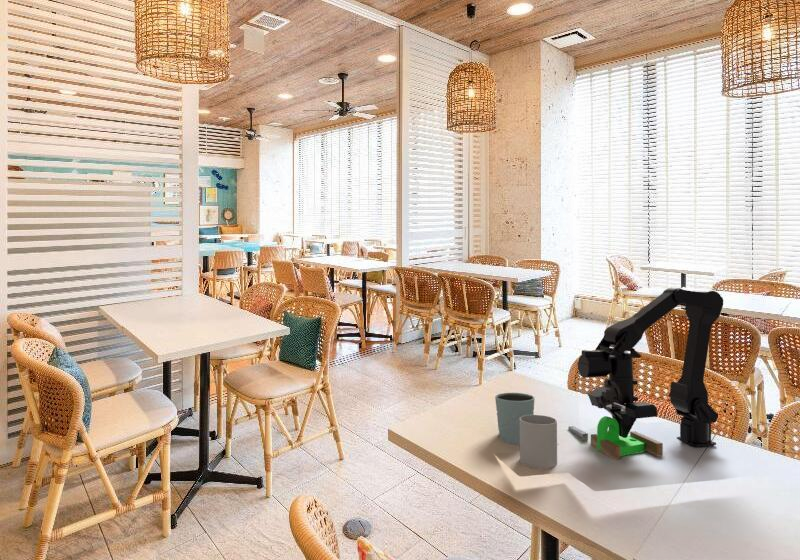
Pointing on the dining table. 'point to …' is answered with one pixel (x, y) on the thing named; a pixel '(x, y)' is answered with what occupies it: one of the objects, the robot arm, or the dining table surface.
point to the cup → (538, 441)
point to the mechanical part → (617, 437)
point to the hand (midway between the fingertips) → (623, 437)
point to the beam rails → (615, 450)
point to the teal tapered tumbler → (512, 414)
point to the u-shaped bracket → (579, 433)
